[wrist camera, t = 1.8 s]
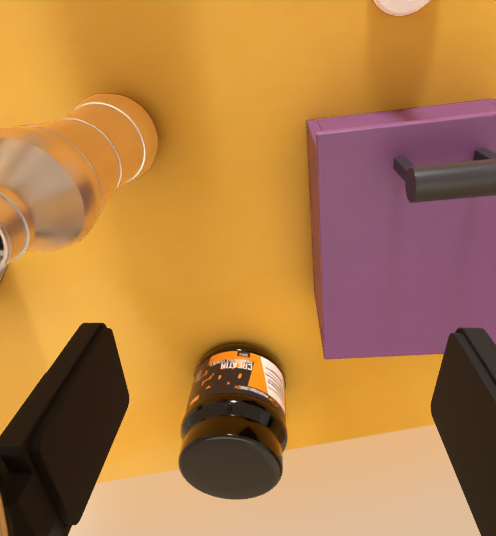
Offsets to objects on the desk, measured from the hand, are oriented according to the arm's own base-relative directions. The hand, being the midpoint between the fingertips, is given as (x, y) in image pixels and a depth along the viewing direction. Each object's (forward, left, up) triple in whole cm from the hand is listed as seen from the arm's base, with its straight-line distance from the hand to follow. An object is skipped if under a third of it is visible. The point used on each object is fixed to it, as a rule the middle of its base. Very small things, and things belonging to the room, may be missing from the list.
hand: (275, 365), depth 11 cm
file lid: (+6, +10, -16) cm, 20 cm away
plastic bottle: (-3, -12, -25) cm, 28 cm away
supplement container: (+25, -6, -25) cm, 36 cm away
